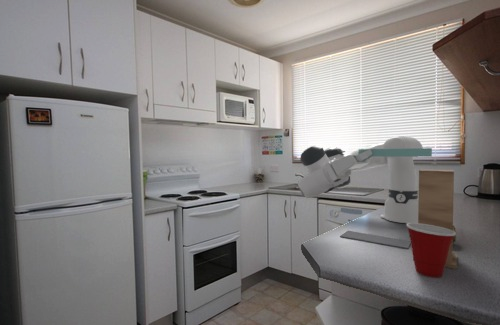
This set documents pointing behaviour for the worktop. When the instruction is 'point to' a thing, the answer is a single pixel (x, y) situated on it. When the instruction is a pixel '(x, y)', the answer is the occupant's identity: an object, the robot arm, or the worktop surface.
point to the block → (400, 152)
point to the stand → (437, 203)
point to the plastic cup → (430, 247)
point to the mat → (377, 239)
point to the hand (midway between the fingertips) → (373, 151)
